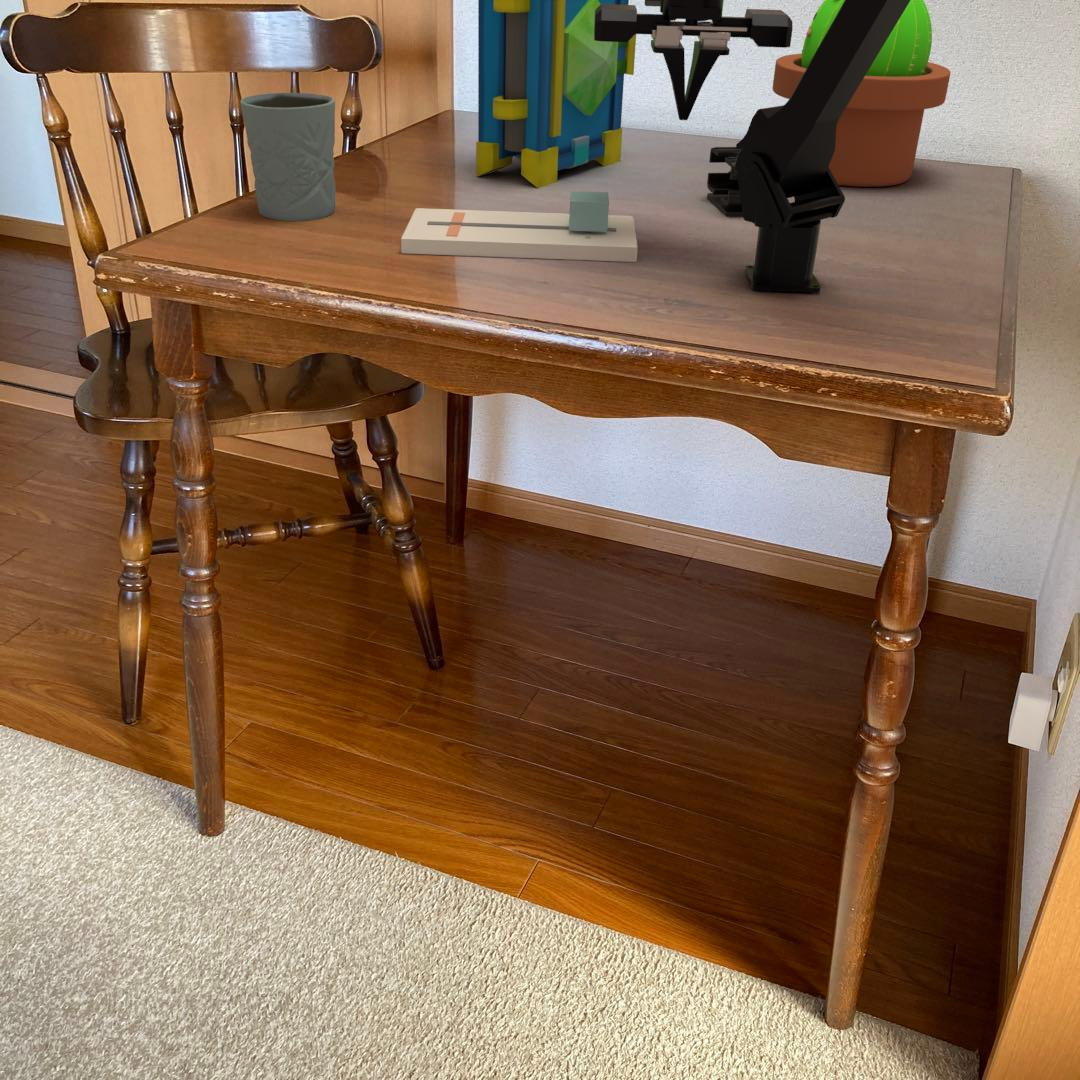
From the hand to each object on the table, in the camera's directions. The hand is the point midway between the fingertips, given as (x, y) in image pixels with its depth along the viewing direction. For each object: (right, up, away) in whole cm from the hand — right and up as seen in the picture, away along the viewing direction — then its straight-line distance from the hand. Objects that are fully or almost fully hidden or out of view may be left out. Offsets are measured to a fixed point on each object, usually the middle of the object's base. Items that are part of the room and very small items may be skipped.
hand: (683, 119), depth 114 cm
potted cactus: (+27, +7, +39) cm, 48 cm away
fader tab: (-9, -9, +6) cm, 14 cm away
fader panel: (-16, -10, +7) cm, 21 cm away
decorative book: (-13, +7, +36) cm, 39 cm away
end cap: (+10, -3, +22) cm, 24 cm away
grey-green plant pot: (-42, -5, +15) cm, 45 cm away
